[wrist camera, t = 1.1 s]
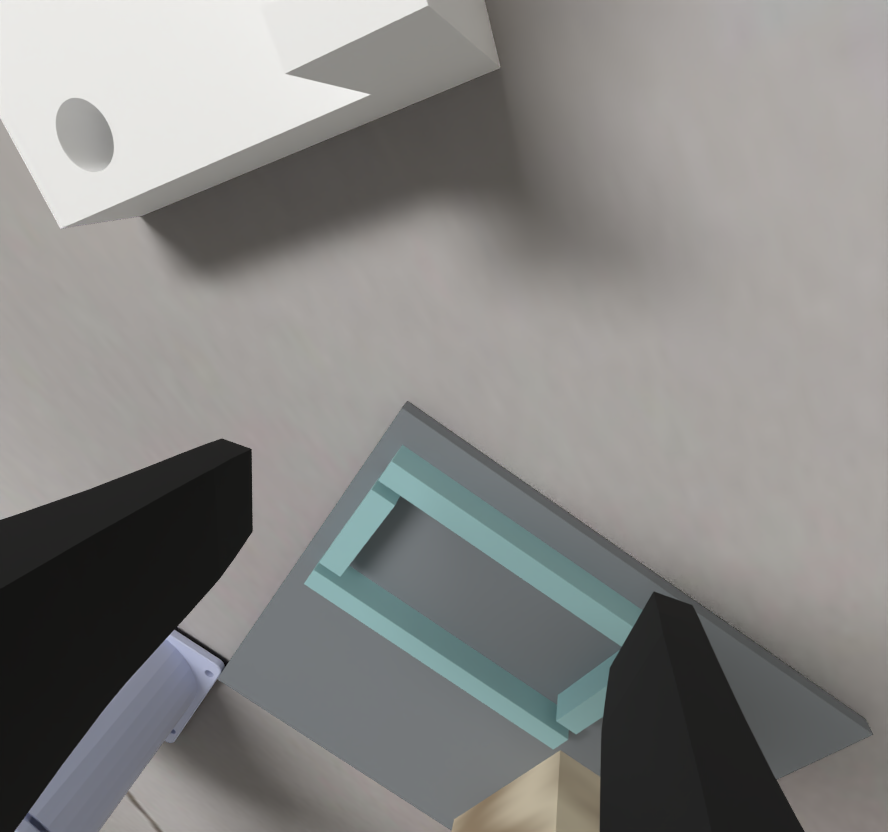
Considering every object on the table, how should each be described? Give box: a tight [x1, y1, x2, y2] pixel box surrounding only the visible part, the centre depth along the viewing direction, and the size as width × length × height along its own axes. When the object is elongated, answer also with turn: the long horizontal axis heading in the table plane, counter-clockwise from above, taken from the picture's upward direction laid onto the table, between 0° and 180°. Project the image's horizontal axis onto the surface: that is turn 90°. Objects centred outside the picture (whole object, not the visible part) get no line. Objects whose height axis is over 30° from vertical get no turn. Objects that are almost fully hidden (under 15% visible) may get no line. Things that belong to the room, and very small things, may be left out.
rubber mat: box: [218, 401, 873, 831], centre depth 25 cm, size 20×21×1 cm
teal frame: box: [304, 445, 643, 749], centre depth 21 cm, size 8×12×1 cm, turn 58°
